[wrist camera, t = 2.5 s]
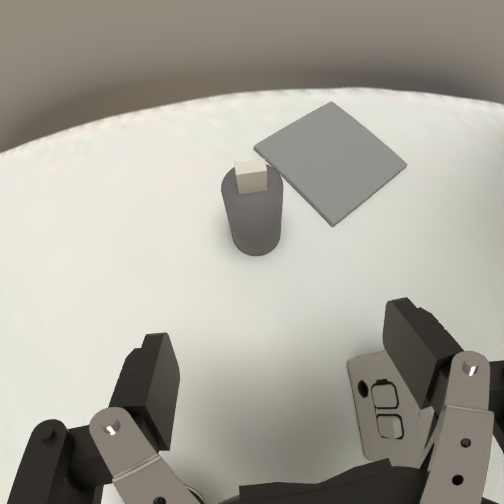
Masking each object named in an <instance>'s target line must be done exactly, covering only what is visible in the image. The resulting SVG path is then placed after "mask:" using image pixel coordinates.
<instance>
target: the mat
mask: <svg viewBox="0 0 504 504" xmlns="http://www.w3.org/2000/svg"><path fill="white" fill-rule="evenodd" d="M254 150H255V151H256V152H257V153H258V154H259V155H260V156H262V157H263V158H264V159H265V160H266V161H267V162H268V163H269V164H270V165H271V166H272V167H273V168H274V169H275V170H276V171H277V172H278V173H279V174H280V175H281V176H282V177H283V178H284V179H285V180H287V181H288V182H289V183H290V184H291V185H292V186H293V187H294V188H295V189H296V190H297V191H298V192H299V193H300V194H301V195H302V196H303V197H304V198H305V199H306V200H307V201H308V202H309V203H310V204H311V205H312V206H313V207H314V208H315V209H316V210H317V211H318V213H319V214H320V215H321V216H322V217H323V218H324V219H325V220H326V221H327V222H328V223H329V224H330V225H331V226H332V227H334V226H335V225H336V224H337V223H339V222H340V221H341V220H342V219H344V218H345V217H346V216H347V215H349V214H350V213H351V212H352V211H353V210H355V209H356V208H357V207H358V206H360V205H361V204H362V203H363V202H365V201H366V200H367V199H368V198H369V197H371V196H372V195H373V194H374V193H376V192H377V191H378V190H379V189H380V188H382V187H383V186H384V185H385V184H386V183H388V182H389V181H390V180H391V179H393V178H394V177H395V176H396V175H397V174H399V173H400V172H401V171H402V170H403V169H405V168H406V166H407V164H406V163H405V162H404V161H403V160H402V159H401V158H400V157H399V156H398V155H397V154H395V153H394V152H393V151H392V150H391V149H390V148H389V147H388V146H386V145H385V144H384V143H383V142H382V141H381V140H380V139H378V138H377V137H376V136H375V135H374V134H372V133H371V132H370V131H369V130H368V129H366V128H365V127H364V126H363V125H361V124H360V123H359V122H358V121H357V120H355V119H354V118H353V117H351V116H350V115H349V114H348V113H346V112H345V111H344V110H342V109H341V108H340V107H339V106H337V105H336V104H335V103H333V102H332V101H331V102H329V103H327V104H326V105H324V106H322V107H320V108H318V109H316V110H315V111H313V112H311V113H309V114H307V115H306V116H304V117H302V118H300V119H299V120H297V121H295V122H293V123H292V124H290V125H288V126H286V127H285V128H283V129H281V130H279V131H278V132H276V133H274V134H273V135H271V136H269V137H268V138H266V139H264V140H263V141H261V142H259V143H258V144H256V145H254Z"/></svg>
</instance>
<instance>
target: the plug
mask: <svg viewBox="0 0 504 504" xmlns="http://www.w3.org/2000/svg"><path fill="white" fill-rule="evenodd" d="M234 165H235V167H234V168H233V169H231V170H230V171H229V172H228V173H227V174H226V176H225V177H224V179H223V181H222V186H221V192H222V197H223V201H224V205H225V209H226V213H227V217H228V221H229V225H230V229H231V233H232V237H233V240H234V243H235V245H236V246H237V248H238V249H239V250H240V251H242V252H243V253H245V254H247V255H251V256H261V255H265V254H267V253H269V252H271V251H272V250H273V249H274V248H275V247H276V246H277V244H278V242H279V239H280V231H281V217H282V202H283V181H282V178H281V176H280V175H279V173H278V172H277V171H276V170H275V169H274V168H272V167H271V166H269V165H266V163H265V159H257V160H250V161H243V162H236V163H234Z"/></svg>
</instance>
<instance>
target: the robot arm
mask: <svg viewBox="0 0 504 504" xmlns="http://www.w3.org/2000/svg"><path fill="white" fill-rule="evenodd" d="M383 344H384V347H385V350H386V352H387V353H388V355H389V357H390V358H391V360H392V362H393V363H394V365H395V367H396V368H397V370H398V372H399V373H400V375H401V377H402V378H403V380H404V382H405V384H406V385H407V387H408V389H409V390H410V392H411V394H412V396H413V397H414V399H415V401H416V403H417V404H418V406H419V408H420V410H422V409H425V408H428V407H431V406H432V408H433V409H434V412H433V415H432V418H431V422H430V425H429V429H428V433H427V436H426V440H425V443H424V446H423V449H422V453H421V456H420V458H419V461H418V463H417V465H416V468H413V467H406V466H392V465H391V463H390V460H389V458H386V459H382V460H379V461H375V462H372V463H368V464H365V465H361V466H357V467H354V468H352V469H350V470H348V471H345V472H343V473H341V474H339V475H337V476H335V477H333V478H330V479H328V480H326V481H324V482H321V483H318V484H304V483H284V482H273V483H265V484H256V485H245V486H239V493H240V495H238V496H235V497H232V498H229V499H227V500H224V501H223V502H221V503H219V504H498V503H496V502H493V501H491V500H488V499H486V498H483V497H482V495H483V491H484V486H485V481H486V475H487V470H488V464H489V457H490V450H491V442H492V433H493V435H494V437H495V438H496V440H497V442H498V444H499V446H500V448H501V449H502V451H503V453H504V360H503V361H493V362H488V360H487V359H486V358H485V357H484V356H483V355H481V354H479V353H477V352H473V351H464V350H463V349H462V348H461V347H460V345H459V344H458V343H457V342H456V341H455V340H454V338H453V337H452V336H451V335H450V334H449V333H448V332H447V330H444V327H443V326H442V325H441V324H440V323H439V321H438V320H437V319H436V318H435V317H434V316H433V315H432V314H431V313H430V312H428V311H426V310H424V309H422V308H421V307H420V308H416V306H415V305H414V304H413V303H412V302H411V301H410V300H409V299H408V298H407V297H405V298H400V299H396V300H391V301H388V302H387V304H386V310H385V319H384V327H383ZM179 382H180V371H179V366H178V362H177V359H176V356H175V353H174V350H173V347H172V344H171V341H170V338H169V335H168V334H167V333H154V334H146V336H145V338H144V341H143V344H142V347H141V348H135V349H134V350H133V351H132V352H131V353H130V354H129V355H128V356H127V357H126V359H125V362H124V364H123V367H122V370H121V373H120V375H119V378H118V381H117V384H116V386H115V389H114V392H113V395H112V398H111V401H110V404H109V406H108V408H105V409H103V410H101V411H99V412H98V413H97V414H95V415H94V417H93V418H92V419H91V421H90V424H89V425H86V426H82V427H77V428H72V429H67V428H66V427H65V425H64V424H63V423H62V422H61V421H59V420H55V419H50V420H46V421H43V422H41V423H40V424H38V425H37V426H36V427H35V428H34V430H33V432H32V434H31V436H30V439H29V441H28V444H27V446H26V449H25V452H24V454H23V457H22V460H21V463H20V465H19V468H18V471H17V474H16V477H15V480H14V483H13V486H12V489H11V492H10V495H9V499H8V502H7V504H101V499H102V493H103V487H104V485H105V484H111V483H113V484H114V486H115V487H116V489H117V491H118V492H119V494H120V496H121V497H122V499H123V501H124V502H125V504H200V503H199V501H198V500H197V499H196V498H195V497H194V496H193V495H192V494H191V492H190V491H189V490H188V489H187V488H186V487H185V485H184V484H183V483H182V482H181V481H180V480H179V478H178V477H177V476H176V475H175V473H174V472H173V471H172V470H171V469H170V467H169V466H168V465H167V463H166V462H165V461H164V460H163V458H162V457H161V456H160V455H158V453H159V451H170V444H171V436H172V429H173V422H174V415H175V408H176V401H177V395H178V388H179Z"/></svg>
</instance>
